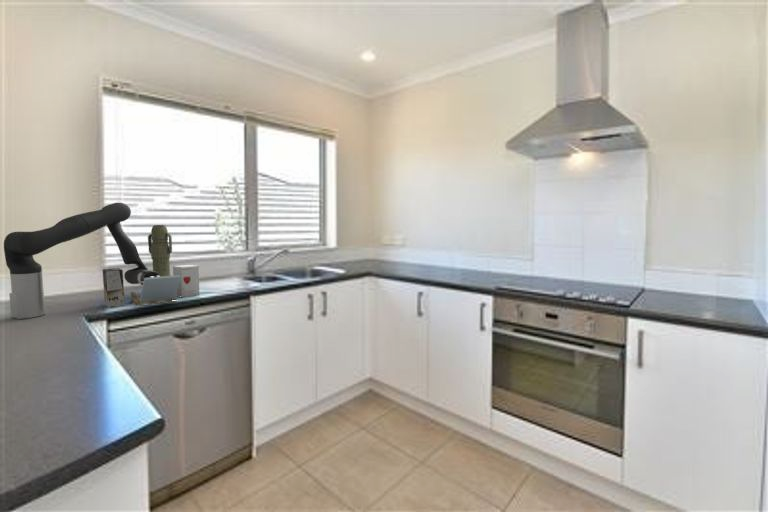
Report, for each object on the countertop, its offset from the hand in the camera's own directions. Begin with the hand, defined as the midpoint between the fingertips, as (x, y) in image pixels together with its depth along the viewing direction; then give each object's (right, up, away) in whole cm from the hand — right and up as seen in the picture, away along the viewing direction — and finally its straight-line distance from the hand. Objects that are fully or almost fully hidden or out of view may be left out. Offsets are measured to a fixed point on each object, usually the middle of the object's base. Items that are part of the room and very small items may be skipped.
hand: (163, 282), depth 172 cm
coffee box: (-23, -10, +2) cm, 25 cm away
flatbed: (-10, -9, +10) cm, 17 cm away
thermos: (-22, -7, +39) cm, 45 cm away
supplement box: (-2, -8, +25) cm, 27 cm away
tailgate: (-6, -7, +5) cm, 11 cm away
